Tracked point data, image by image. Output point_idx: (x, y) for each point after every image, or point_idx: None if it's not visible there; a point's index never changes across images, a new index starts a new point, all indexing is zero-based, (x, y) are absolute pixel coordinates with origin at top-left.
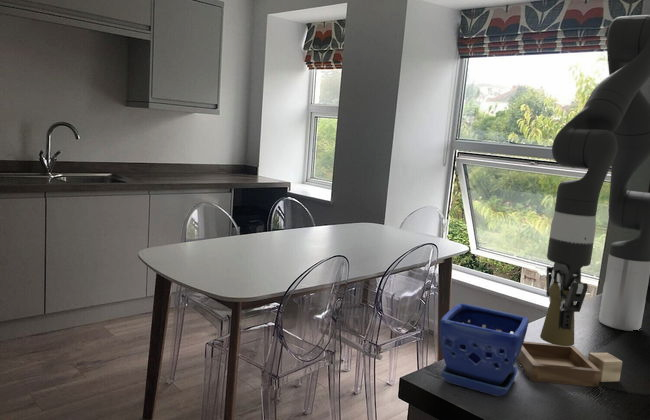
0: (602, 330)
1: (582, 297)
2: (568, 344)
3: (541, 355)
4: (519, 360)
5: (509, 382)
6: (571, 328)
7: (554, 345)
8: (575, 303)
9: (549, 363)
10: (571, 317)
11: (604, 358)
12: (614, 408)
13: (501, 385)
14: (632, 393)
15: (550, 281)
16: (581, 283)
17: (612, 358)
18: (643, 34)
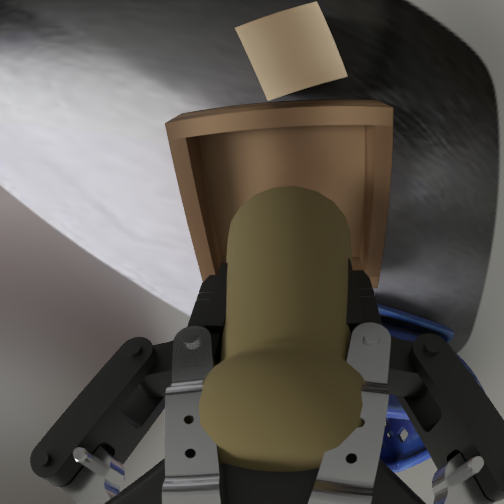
0: None
1: (491, 416)
2: (347, 225)
3: (211, 208)
4: None
5: (434, 329)
6: (343, 255)
7: (194, 190)
8: (387, 369)
9: None
10: (378, 313)
11: (310, 60)
12: (479, 122)
13: (425, 331)
14: (391, 18)
15: (132, 441)
16: (500, 499)
17: (298, 28)
18: None
